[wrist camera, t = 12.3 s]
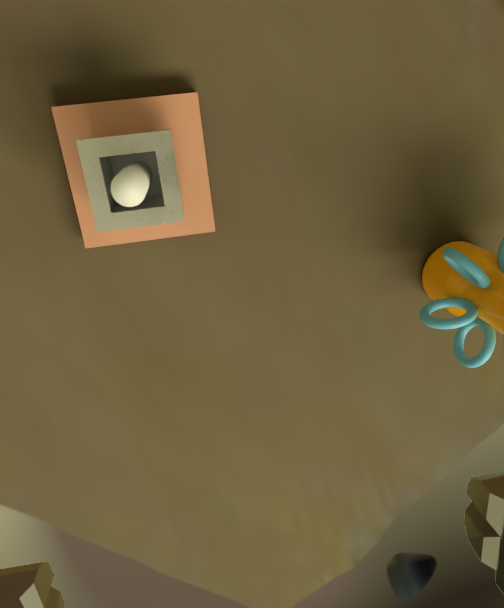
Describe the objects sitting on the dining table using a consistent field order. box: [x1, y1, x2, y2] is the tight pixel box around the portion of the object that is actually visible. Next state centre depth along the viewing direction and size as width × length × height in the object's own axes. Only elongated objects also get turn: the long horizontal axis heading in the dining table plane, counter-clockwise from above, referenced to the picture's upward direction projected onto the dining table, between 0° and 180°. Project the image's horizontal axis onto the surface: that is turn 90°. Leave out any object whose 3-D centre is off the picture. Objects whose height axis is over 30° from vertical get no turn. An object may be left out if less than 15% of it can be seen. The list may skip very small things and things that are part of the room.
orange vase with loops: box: [420, 239, 504, 368], centre depth 36 cm, size 12×10×15 cm
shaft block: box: [51, 92, 215, 248], centre depth 31 cm, size 10×10×10 cm
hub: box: [76, 128, 185, 232], centre depth 31 cm, size 6×6×5 cm
